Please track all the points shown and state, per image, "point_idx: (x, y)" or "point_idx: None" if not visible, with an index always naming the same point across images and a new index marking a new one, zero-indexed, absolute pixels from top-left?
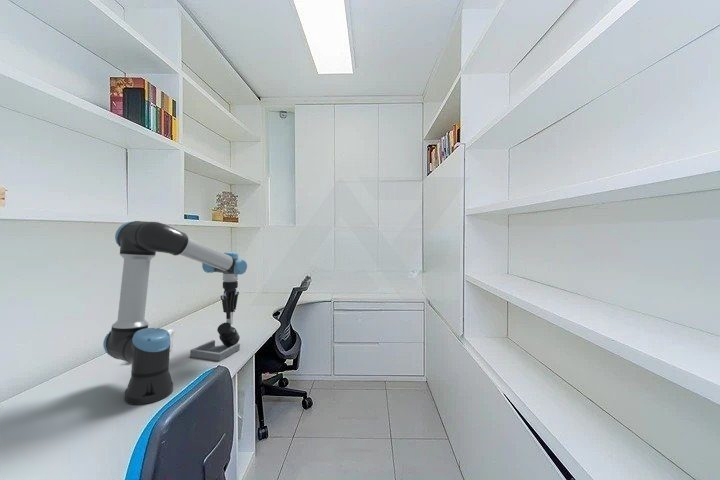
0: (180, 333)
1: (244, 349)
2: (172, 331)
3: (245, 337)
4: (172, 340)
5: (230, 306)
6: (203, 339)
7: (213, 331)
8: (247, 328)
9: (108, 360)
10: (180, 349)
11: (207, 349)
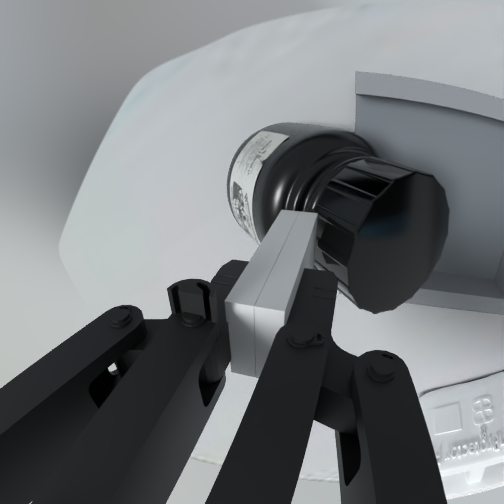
0: (232, 427)
1: (329, 54)
2: (440, 463)
3: (144, 176)
4: (436, 425)
5: (257, 448)
6: None
7: None
8: (65, 240)
9: None
10: None
11: None
